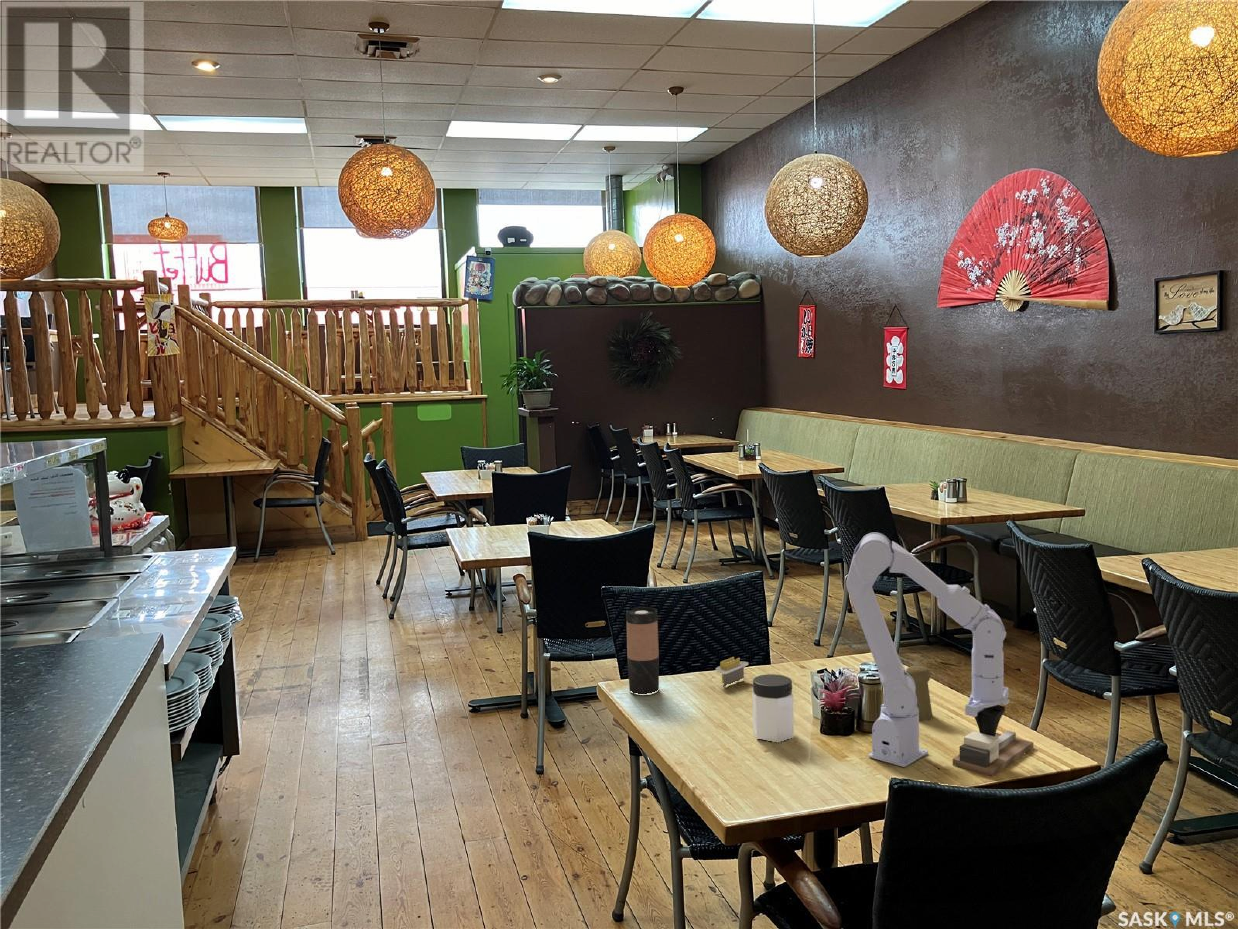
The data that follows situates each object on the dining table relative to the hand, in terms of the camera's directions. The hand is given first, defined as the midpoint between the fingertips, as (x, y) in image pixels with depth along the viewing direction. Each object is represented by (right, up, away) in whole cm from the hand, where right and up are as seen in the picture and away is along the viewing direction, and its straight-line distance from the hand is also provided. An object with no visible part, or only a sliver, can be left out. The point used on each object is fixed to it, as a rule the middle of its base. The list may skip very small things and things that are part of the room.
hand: (987, 742), depth 185 cm
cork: (-5, -2, +26) cm, 26 cm away
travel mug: (-65, -2, +48) cm, 81 cm away
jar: (-39, -4, +17) cm, 42 cm away
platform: (-44, -1, +51) cm, 67 cm away
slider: (-2, -2, -2) cm, 3 cm away
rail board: (+2, -3, +2) cm, 4 cm away
